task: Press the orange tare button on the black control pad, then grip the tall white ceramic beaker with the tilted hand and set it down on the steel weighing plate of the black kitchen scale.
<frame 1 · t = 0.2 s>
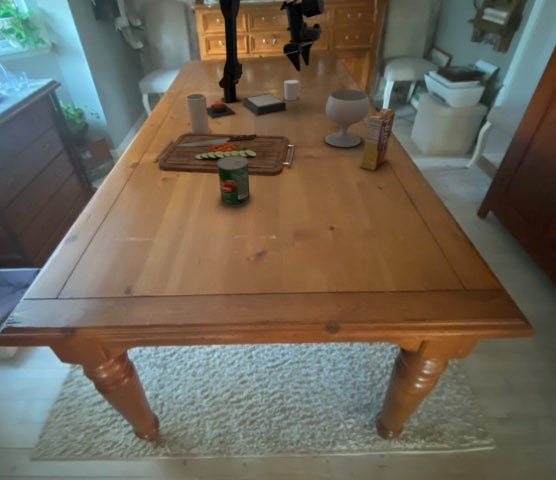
hand: (303, 68, 136), 15 cm above the table, tool pointing down, fingers open, 9 cm apart
chalice: (342, 141, 122), on the table
shot glass: (291, 98, 158), on the table
tare pad: (219, 112, 148), on the table
canned tomato: (235, 199, 96), on the table
scale: (264, 107, 150), on the table
beaker: (200, 132, 131), on the table
chopping board: (226, 154, 117), on the table
candy box: (372, 164, 108), on the table
scale button: (218, 104, 146), point 3 cm above the table, slide at 0.1 cm
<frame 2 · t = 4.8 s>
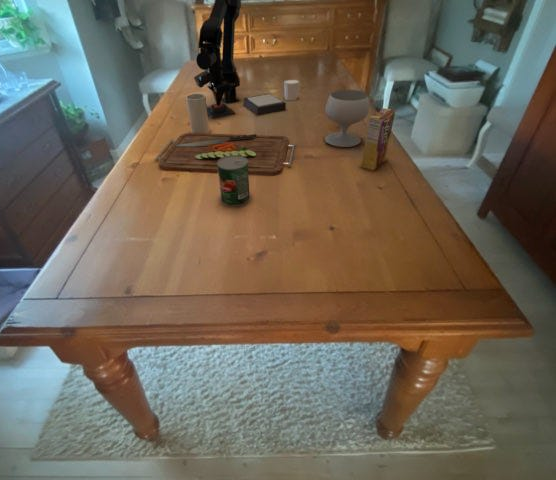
hand: (218, 105, 146), 3 cm above the table, tool pointing down, fingers closed, pressing on scale button
scale button: (218, 107, 146), point 2 cm above the table, slide at -1.0 cm, touching gripper
everything else where it was.
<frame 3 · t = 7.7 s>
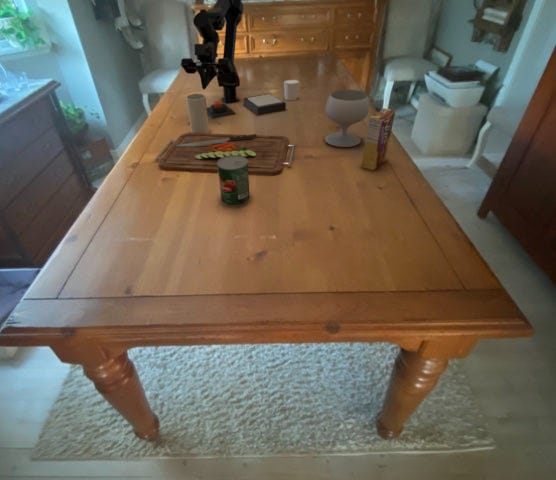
hand: (203, 88, 128), 13 cm above the table, tool tilted 45°, fingers closed
scale button: (218, 104, 146), point 3 cm above the table, slide at 0.1 cm
everything else where it was.
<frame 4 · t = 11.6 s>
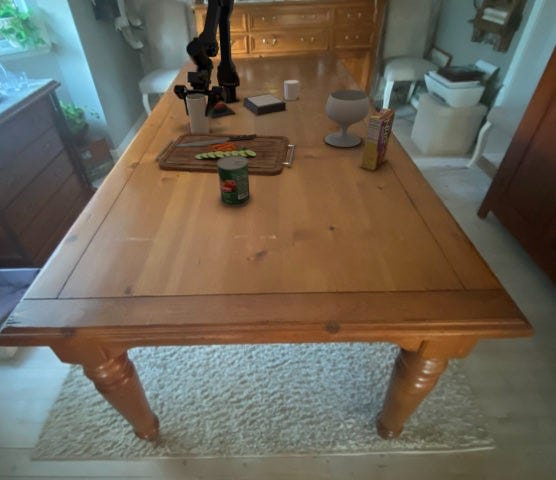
hand: (196, 115, 126), 7 cm above the table, tool tilted 45°, fingers closed on beaker, 7 cm apart
beaker: (200, 132, 131), on the table, touching gripper
everything else where it was.
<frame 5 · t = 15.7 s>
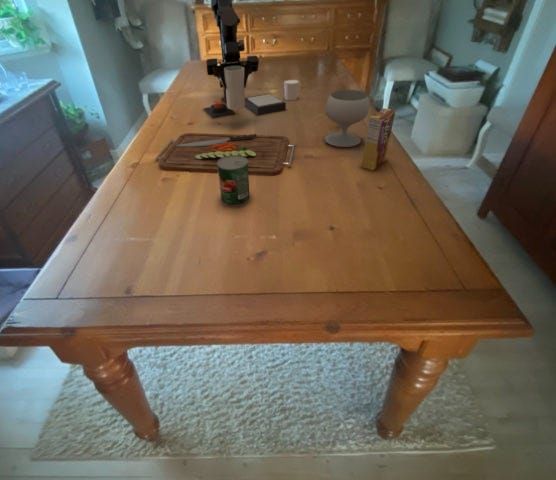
hand: (235, 88, 125), 14 cm above the table, tool tilted 45°, fingers closed on beaker, 7 cm apart
beaker: (236, 106, 131), point 7 cm above the table, touching gripper
everything else where it was.
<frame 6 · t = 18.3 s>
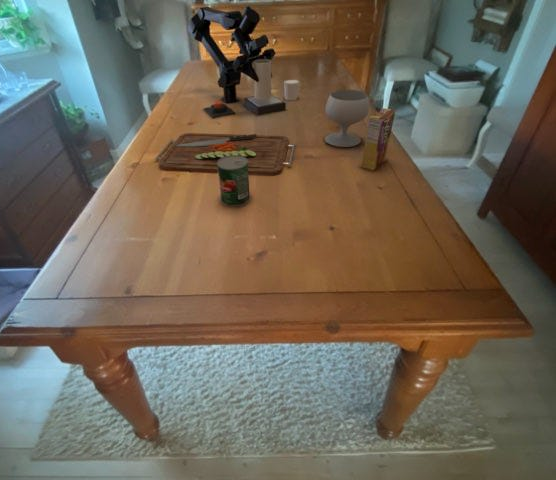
hand: (264, 79, 137), 13 cm above the table, tool tilted 45°, fingers closed on beaker, 7 cm apart
beaker: (262, 97, 142), point 6 cm above the table, touching gripper
everything else where it was.
when the fingers open (10 cm above the table, at t = 20.2 s): beaker stays where it is, resting on scale.
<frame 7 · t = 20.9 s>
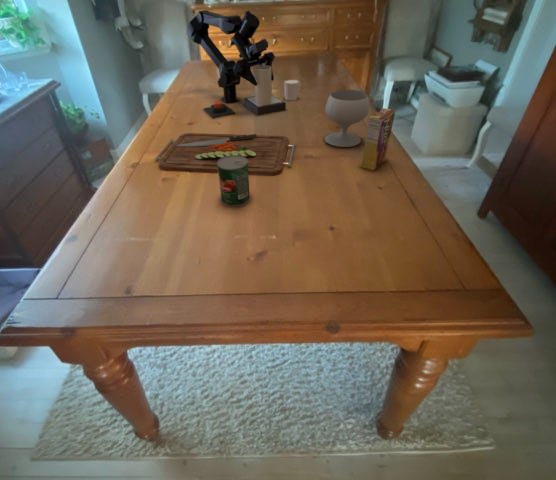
hand: (264, 82, 138), 11 cm above the table, tool tilted 45°, fingers open, 9 cm apart
beaker: (263, 102, 144), point 3 cm above the table, touching scale
everything else where it was.
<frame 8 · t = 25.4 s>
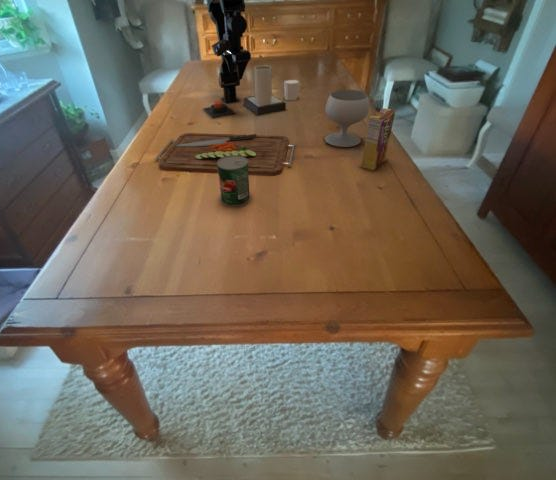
hand: (235, 76, 140), 13 cm above the table, tool pointing down, fingers open, 9 cm apart
nothing on the table moved.
at the end: scale button pushed in 1.2 cm at the most during the clip, back to where it started at the end; beaker 0.0 cm from the target spot on the scale, point 3.4 cm above the scale's base; beaker tilted 0° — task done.
